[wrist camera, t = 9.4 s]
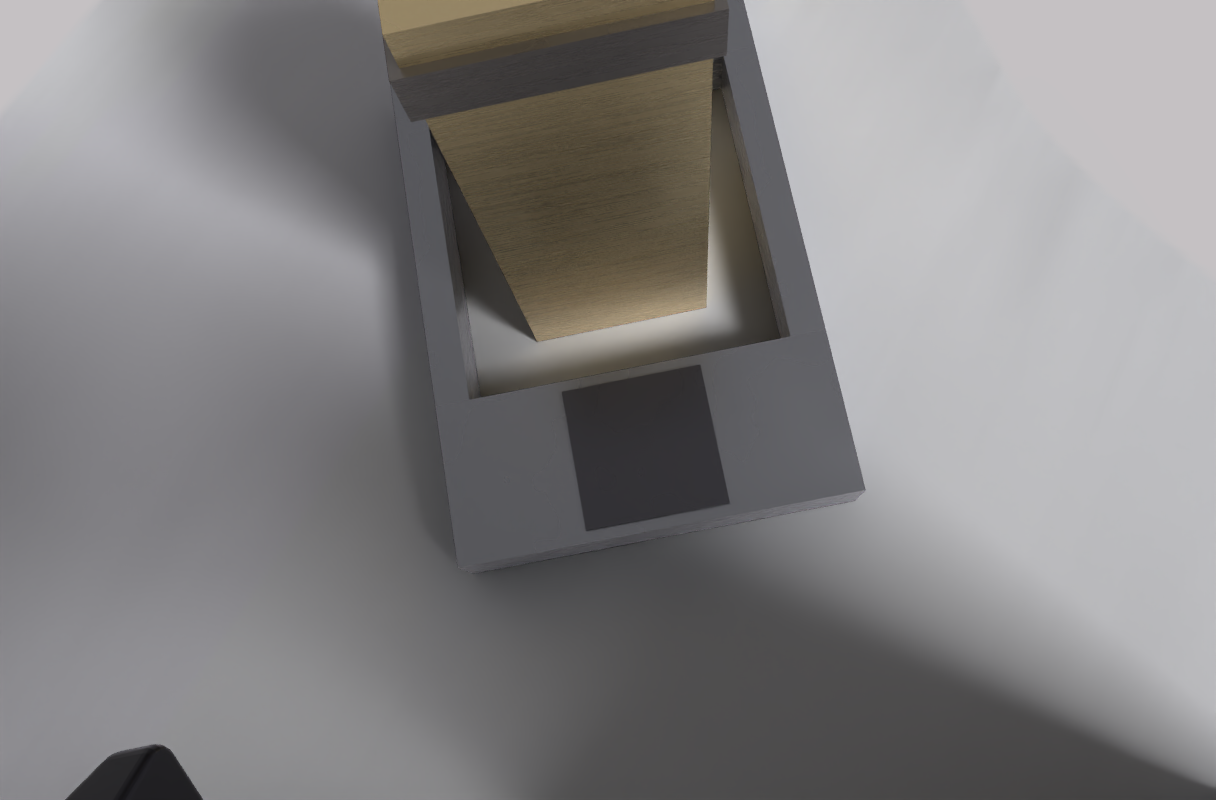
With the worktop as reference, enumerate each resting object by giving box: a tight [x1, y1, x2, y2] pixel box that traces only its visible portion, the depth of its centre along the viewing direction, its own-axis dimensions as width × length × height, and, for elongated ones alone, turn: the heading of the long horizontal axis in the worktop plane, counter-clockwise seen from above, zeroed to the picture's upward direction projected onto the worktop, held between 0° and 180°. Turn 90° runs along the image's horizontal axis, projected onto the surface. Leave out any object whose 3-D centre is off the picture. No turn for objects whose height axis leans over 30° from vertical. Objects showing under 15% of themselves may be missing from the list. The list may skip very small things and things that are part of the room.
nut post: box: [378, 0, 729, 342], centre depth 18 cm, size 4×4×12 cm
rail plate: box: [390, 0, 865, 574], centre depth 23 cm, size 12×8×2 cm
